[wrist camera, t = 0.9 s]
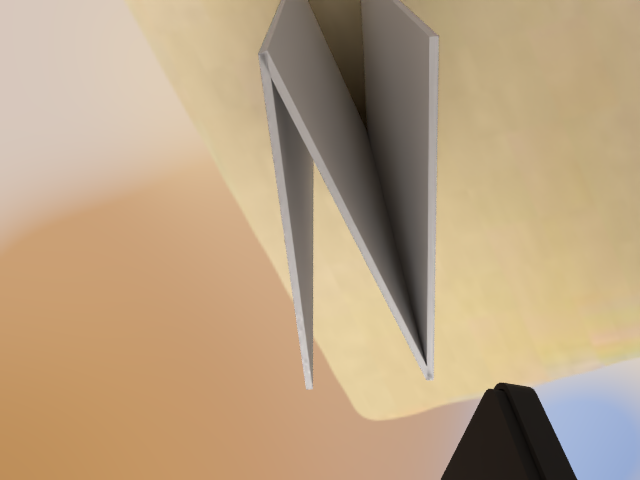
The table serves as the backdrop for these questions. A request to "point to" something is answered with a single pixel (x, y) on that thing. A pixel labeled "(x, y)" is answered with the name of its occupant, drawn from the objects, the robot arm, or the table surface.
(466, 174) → the table surface
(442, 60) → the table surface
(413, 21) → the brochure
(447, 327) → the table surface
